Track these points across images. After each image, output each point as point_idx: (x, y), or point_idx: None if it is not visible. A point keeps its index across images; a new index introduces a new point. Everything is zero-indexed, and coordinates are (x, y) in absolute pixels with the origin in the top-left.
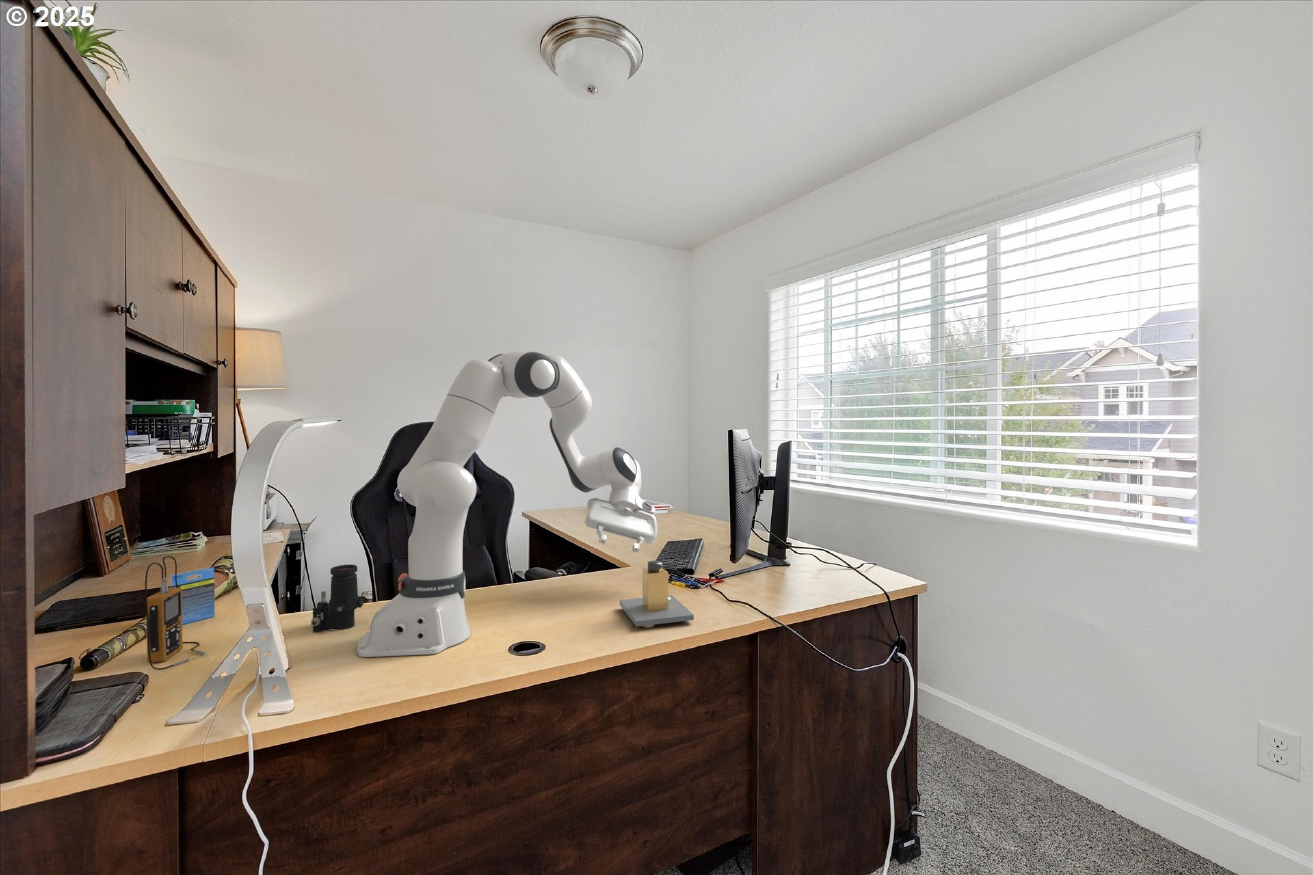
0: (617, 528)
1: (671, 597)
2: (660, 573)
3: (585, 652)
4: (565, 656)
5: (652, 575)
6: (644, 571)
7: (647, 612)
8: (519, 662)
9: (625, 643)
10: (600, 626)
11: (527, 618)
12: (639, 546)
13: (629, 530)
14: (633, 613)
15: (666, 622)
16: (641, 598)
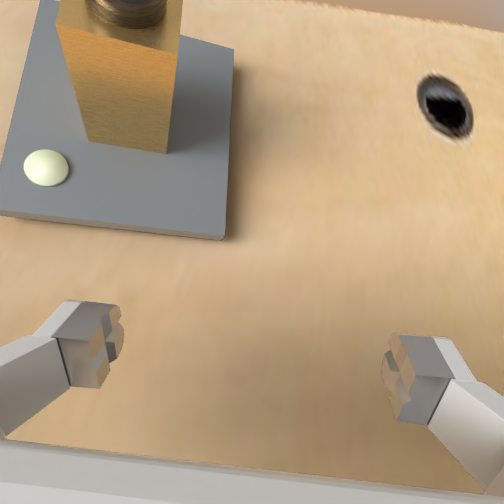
0: (321, 481)
1: (11, 179)
2: None
3: (353, 34)
4: (386, 39)
5: None
6: (179, 29)
7: (178, 87)
8: (452, 59)
9: (272, 25)
10: (303, 137)
11: (456, 267)
12: (49, 317)
13: (113, 453)
14: (222, 101)
15: None
16: (140, 220)
